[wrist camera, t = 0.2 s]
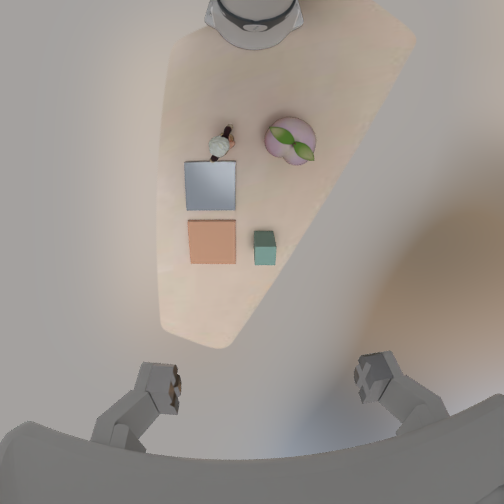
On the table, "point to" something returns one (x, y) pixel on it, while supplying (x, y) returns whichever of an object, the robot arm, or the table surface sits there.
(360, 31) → the table surface
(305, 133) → the decorative fruit
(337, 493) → the robot arm
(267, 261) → the green wooden block
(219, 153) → the grandmother figurine
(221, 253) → the terracotta tile
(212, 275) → the table surface
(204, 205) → the slate tile
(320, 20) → the table surface
